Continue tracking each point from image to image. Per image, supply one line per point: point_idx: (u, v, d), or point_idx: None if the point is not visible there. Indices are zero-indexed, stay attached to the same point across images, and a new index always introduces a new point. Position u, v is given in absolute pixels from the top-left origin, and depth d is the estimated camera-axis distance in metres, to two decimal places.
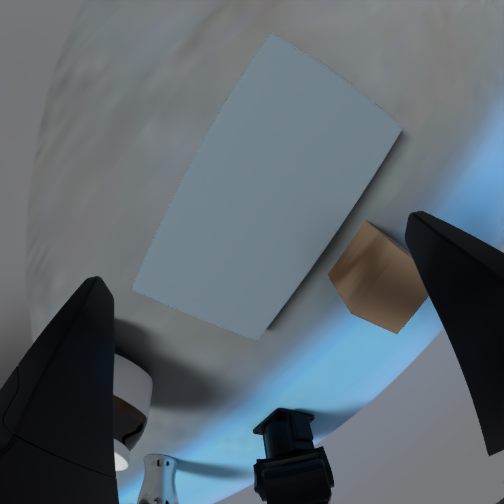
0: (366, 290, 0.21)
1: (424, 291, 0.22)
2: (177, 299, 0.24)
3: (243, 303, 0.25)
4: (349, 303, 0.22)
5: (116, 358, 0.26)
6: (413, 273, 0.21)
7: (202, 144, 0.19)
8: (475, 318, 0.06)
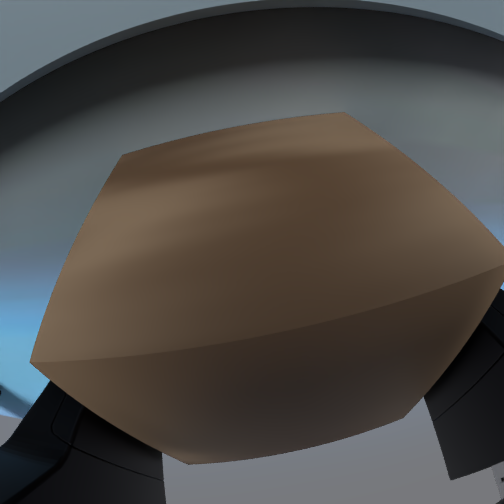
0: (191, 324, 0.03)
1: (356, 428, 0.06)
2: None
3: None
4: (64, 301, 0.03)
5: None
6: (411, 380, 0.04)
7: None
8: None
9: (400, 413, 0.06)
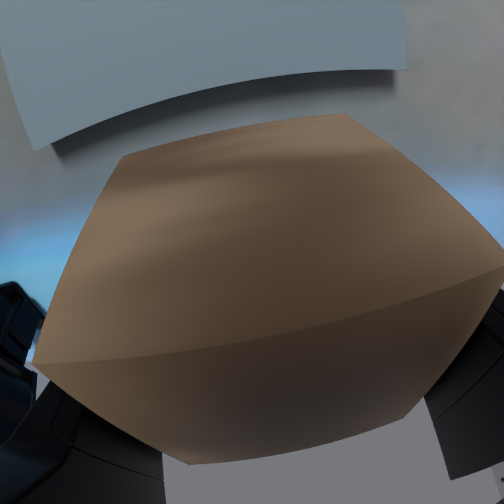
0: (193, 326, 0.03)
1: (356, 429, 0.06)
2: (9, 25, 0.08)
3: (58, 82, 0.11)
4: (66, 303, 0.03)
5: None
6: (410, 381, 0.04)
7: None
8: None
9: (400, 413, 0.06)
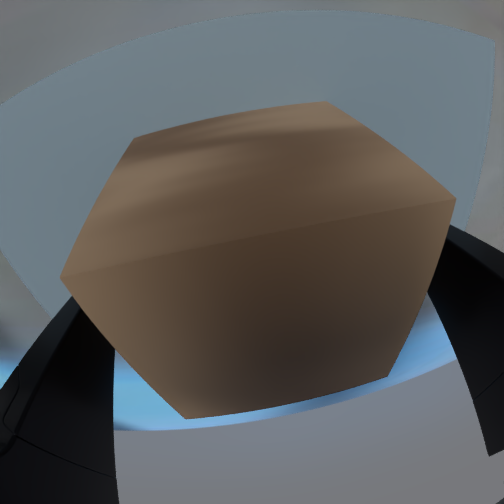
0: (193, 235, 0.04)
1: (341, 380, 0.07)
2: None
3: None
4: (91, 234, 0.04)
5: None
6: (383, 320, 0.05)
7: (278, 14, 0.06)
8: (475, 318, 0.06)
9: (382, 367, 0.07)
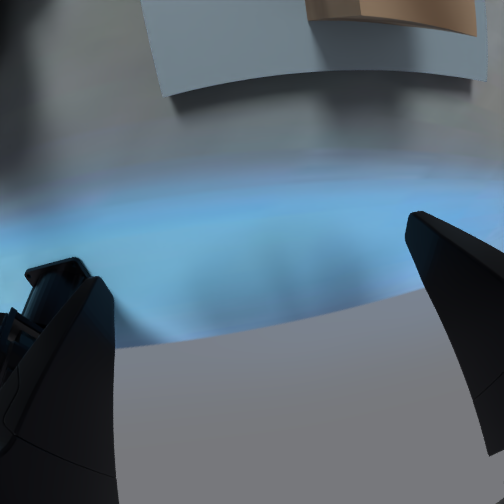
0: None
1: (452, 12, 0.07)
2: None
3: (211, 28, 0.12)
4: None
5: None
6: None
7: None
8: (475, 318, 0.06)
9: (471, 17, 0.07)
